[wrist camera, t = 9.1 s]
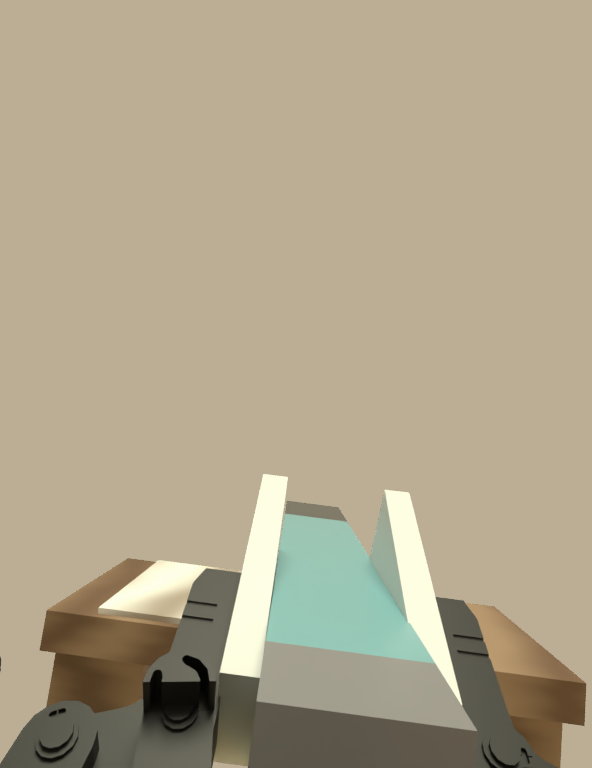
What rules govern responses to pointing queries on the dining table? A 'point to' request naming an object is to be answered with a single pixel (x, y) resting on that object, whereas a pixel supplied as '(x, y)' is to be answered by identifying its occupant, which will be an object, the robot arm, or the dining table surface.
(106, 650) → the shelf
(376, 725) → the teal bar
